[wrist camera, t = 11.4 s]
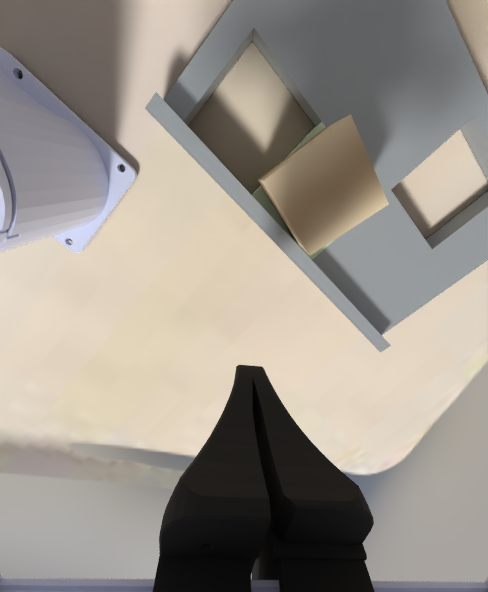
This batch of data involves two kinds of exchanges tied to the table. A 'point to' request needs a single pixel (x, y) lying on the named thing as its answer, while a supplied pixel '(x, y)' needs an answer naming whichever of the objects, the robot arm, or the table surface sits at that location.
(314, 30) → the tray
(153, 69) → the table surface
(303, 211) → the block
